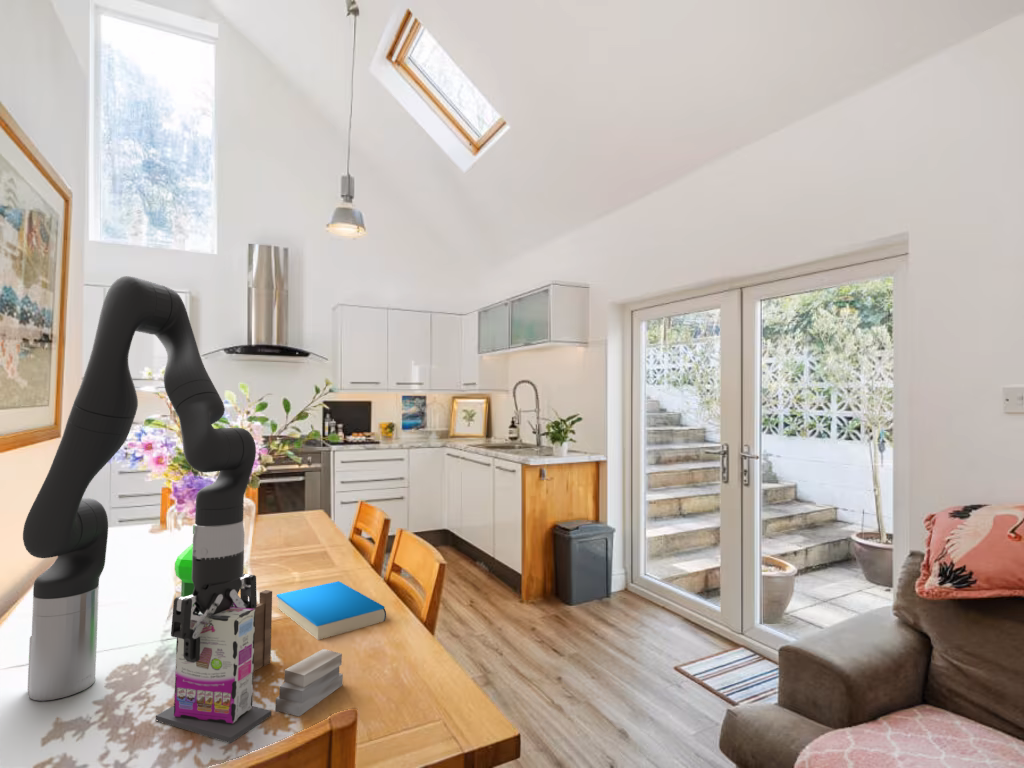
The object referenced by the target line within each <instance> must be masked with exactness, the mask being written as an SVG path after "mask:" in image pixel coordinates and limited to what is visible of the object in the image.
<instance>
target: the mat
mask: <svg viewBox="0 0 1024 768" xmlns="http://www.w3.org/2000/svg"><path fill="white" fill-rule="evenodd" d="M271 716H272V710H270V709H266V708H263V707H259V706H256V705H252V709H251V710H250V711H249V712H248V713H247V714H245V715H244V716H243V717H241V718H240V719H239V720H238V721H236V722H235V723H233V724H231V723H223V722H214V721H205V720H197V719H189V718H181V717H175V716H174V705H173V706H171V707H169V708H167V709H166V710H164V711H161V712H159V713H158V714H156V715H155V721H156V720H158V721H157V722H159V721H160V722H159V723H162V722H163V723H162V724H165V723H166V725H168V724H169V726H172V727H175V728H178V729H182V730H186V731H187V732H188V731H189V732H192V733H196V734H199V735H203V736H205V737H209V738H211V739H216V740H219V741H222V742H225V743H228V744H231V743H233V742H234V741H235V740H237V739H239V738H240V737H242V736H243V735H245V734H246V733H247V732H249V731H251V730H252V729H253V728H255V727H256V726H258V725H260V724H261V723H263V722H264V721H265V720H267V719H268V718H270V717H271Z"/></svg>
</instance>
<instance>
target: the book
mask: <svg viewBox="0 0 1024 768" xmlns="http://www.w3.org/2000/svg"><path fill="white" fill-rule="evenodd" d="M276 598H277V609H278V608H279V609H280V610H281V611H282V612H281V611H280V610H279V609H278V610H279V611H280V612H281V613H283V614H284V613H285V614H286V615H285V614H284V615H285V616H287V617H288V618H289V617H290V618H291V620H292V621H293V622H294V621H295V622H296V624H297V625H298V626H299V625H300V626H299V627H301V628H302V629H303V630H305V631H306V632H307V633H308V634H310V635H311V636H312V637H313V636H314V637H313V638H314V639H316V640H317V641H319V640H323V638H324V639H326V638H330V636H331V637H334V636H337V635H341V634H345V633H348V632H351V631H356V630H358V629H362V628H365V627H369V626H372V625H375V624H379V622H380V623H383V622H385V621H386V618H387V610H386V608H385V606H384V605H383V604H381V603H379V602H377V601H375V600H373V599H372V598H370V597H368V596H366V595H364V594H363V593H361V592H359V591H357V590H356V589H354V588H352V587H350V586H349V585H347V584H345V583H343V582H341V581H334V582H329V583H323V584H320V585H314V586H310V587H305V588H301V589H297V590H292V591H288V592H287V591H286V592H282V593H278V594H276ZM290 618H289V619H290ZM295 622H294V623H295Z"/></svg>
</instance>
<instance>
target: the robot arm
mask: <svg viewBox="0 0 1024 768" xmlns="http://www.w3.org/2000/svg"><path fill="white" fill-rule="evenodd" d="M136 332H139V333H143V334H149V335H154V336H155V337H156V338H158V340H159V342H160V343H161V344H162V346H163V348H164V349H165V351H166V354H167V359H166V365H165V369H164V374H163V384H164V385H163V386H164V390H165V393H166V395H167V397H168V401H169V402H170V404H171V406H172V407H173V409H174V411H175V414H176V415H177V417H178V419H179V425H180V427H179V428H180V433H181V441H182V450H183V454H184V457H185V460H186V462H187V463H188V464H189V466H190V467H192V469H194V470H196V471H198V472H200V473H214V472H218V475H217V477H216V480H215V481H214V482H213V483H210V484H209V485H206V486H204V487H202V488H201V489H199V490H198V491H197V493H196V499H195V513H194V514H195V515H194V516H195V520H194V521H195V522H194V525H195V530H194V534H193V537H192V544H193V552H192V581H193V583H194V591H193V593H192V595H190V596H187V597H181V596H176V597H175V598H174V600H173V603H172V604H173V608H172V616H171V617H172V618H171V628H170V629H171V631H170V636H171V637H173V638H176V639H177V638H181V639H184V655H183V656H184V659H186V660H187V661H188V662H192V663H195V662H197V661H199V659H200V637H198V636H199V635H200V633H201V631H202V629H203V627H204V626H205V625H206V624H208V623H209V621H210V619H211V617H212V615H215V614H217V613H220V612H222V611H224V610H227V609H229V608H230V607H239V608H251V609H255V608H256V606H257V604H258V602H257V597H258V595H257V576H256V575H255V574H249V573H244V569H245V567H244V566H245V565H244V561H245V527H244V505H245V502H244V498H245V494H246V490H247V487H248V485H249V481H250V477H251V475H252V470H253V467H254V465H255V464H254V463H255V460H256V456H257V445H256V442H255V440H254V437H253V435H252V434H251V432H249V431H248V430H247V429H246V428H242V427H221V428H220V427H219V428H214V426H213V424H216V423H217V422H218V421H219V420H220V419H221V418H222V417H223V416H224V415H225V410H226V407H225V405H224V402H223V399H222V398H221V396H220V394H219V393H218V390H217V388H216V387H215V385H214V383H213V381H212V379H211V377H210V375H209V373H208V371H207V369H206V367H205V365H204V363H203V359H202V357H201V354H200V351H199V347H198V345H197V344H198V343H197V341H196V338H195V337H196V336H195V334H194V331H193V328H192V324H191V321H190V318H189V315H188V312H187V308H186V306H185V303H184V302H183V300H182V297H181V295H180V294H179V293H178V292H177V291H175V290H174V289H173V288H170V287H168V286H165V285H163V284H162V285H161V284H159V283H155V282H153V281H149V280H145V279H141V278H138V277H135V276H131V275H130V276H129V275H124V276H121V277H118V278H117V279H116V280H114V282H113V283H112V284H111V286H110V287H109V288H108V290H107V292H106V295H105V297H104V299H103V303H102V306H101V311H100V314H99V318H98V323H97V329H96V332H95V337H94V341H93V343H92V344H93V345H92V348H91V353H90V355H89V359H88V362H87V365H86V369H85V372H84V375H83V378H82V381H81V383H80V385H79V388H78V391H77V394H76V396H75V399H74V400H73V403H72V406H71V410H70V411H69V412H70V413H69V415H68V417H67V418H68V419H67V421H66V424H65V428H64V431H63V434H62V437H61V440H60V443H59V445H58V448H57V450H56V452H55V455H54V458H53V460H52V464H51V466H50V468H49V470H48V473H47V475H46V477H45V480H44V481H43V484H42V485H41V488H40V489H39V491H38V494H37V495H36V498H35V499H34V502H33V503H32V505H31V507H30V509H29V512H28V514H27V515H26V518H25V521H24V523H23V531H22V541H23V546H24V547H25V550H26V552H27V553H28V554H29V555H31V556H32V557H34V558H38V559H49V558H54V557H56V559H55V561H54V562H53V564H51V566H50V567H49V568H48V569H46V570H45V571H43V572H42V573H41V574H39V576H37V577H36V579H35V581H34V582H33V583H34V584H33V588H32V589H33V591H32V596H33V597H32V621H31V622H32V623H31V636H30V637H29V646H28V647H29V648H28V649H29V650H28V668H27V670H28V671H27V673H28V674H27V691H28V697H29V699H31V700H34V701H40V702H41V701H53V700H58V699H62V698H66V697H70V696H73V695H75V694H78V693H80V692H83V691H85V690H86V689H89V687H91V686H92V685H93V684H95V681H96V665H97V664H96V663H97V648H98V647H97V644H98V643H97V641H98V618H99V617H98V615H99V613H98V612H99V593H100V591H99V589H100V585H99V583H100V577H101V575H102V573H103V572H104V568H105V564H106V555H107V545H108V535H109V520H108V519H109V518H108V514H107V511H106V509H105V507H104V505H103V504H102V503H101V502H100V501H98V500H97V499H94V498H89V497H86V498H85V497H84V495H85V494H86V493H85V492H86V490H87V488H88V487H89V485H90V483H92V481H93V479H94V478H95V477H96V475H97V474H98V473H100V472H101V470H102V469H104V467H105V466H106V465H107V464H108V463H109V462H110V461H111V459H112V458H114V456H116V454H117V453H118V452H119V450H120V449H121V448H122V446H123V445H124V444H125V442H126V440H127V439H128V436H129V434H130V431H131V428H132V426H133V423H134V420H135V418H136V414H137V410H138V406H139V405H138V404H139V400H138V395H137V391H136V387H135V384H134V381H133V377H132V374H131V371H130V365H129V353H130V349H131V345H132V341H133V338H134V335H135V333H136ZM239 592H240V595H239ZM193 604H195V605H194V606H193ZM191 609H192V610H191ZM199 612H201V613H202V614H204V615H203V616H198V614H199ZM196 623H197V624H196ZM195 624H196V626H195V627H194V625H195ZM193 627H194V629H193Z"/></svg>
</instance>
